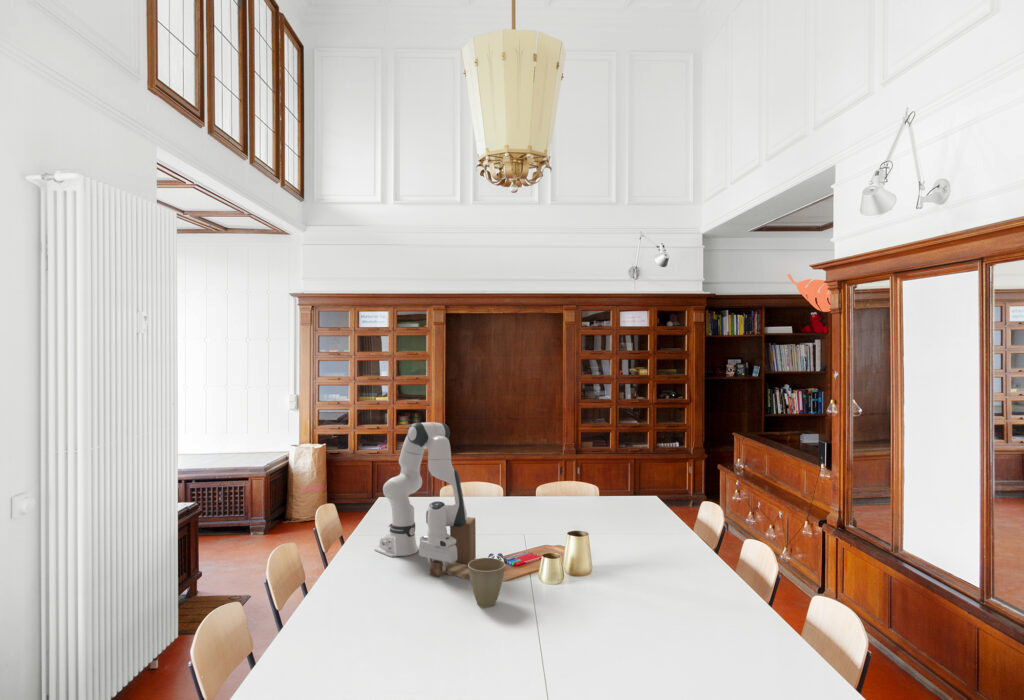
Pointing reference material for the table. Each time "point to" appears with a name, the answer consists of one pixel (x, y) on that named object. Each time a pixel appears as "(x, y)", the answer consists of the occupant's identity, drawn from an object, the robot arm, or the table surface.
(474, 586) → the plant pot
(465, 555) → the wooden block
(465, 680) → the table surface
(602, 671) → the table surface
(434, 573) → the block
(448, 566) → the board
